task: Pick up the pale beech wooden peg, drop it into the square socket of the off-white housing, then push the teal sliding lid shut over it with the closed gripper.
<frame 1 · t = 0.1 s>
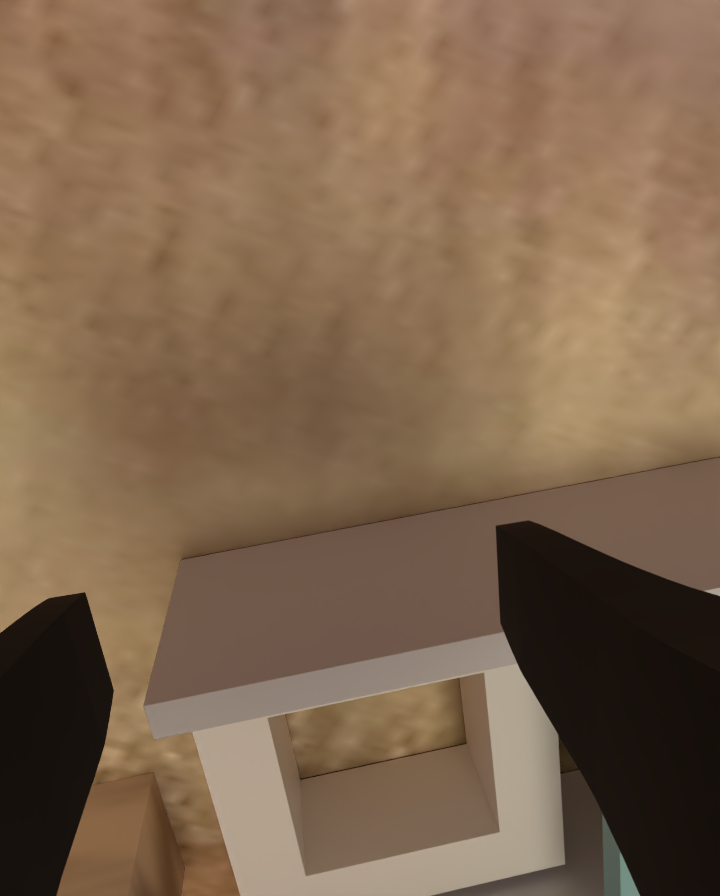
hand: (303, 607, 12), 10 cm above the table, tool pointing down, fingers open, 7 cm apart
peg: (103, 835, 25), on the table
housing: (372, 693, 25), on the table
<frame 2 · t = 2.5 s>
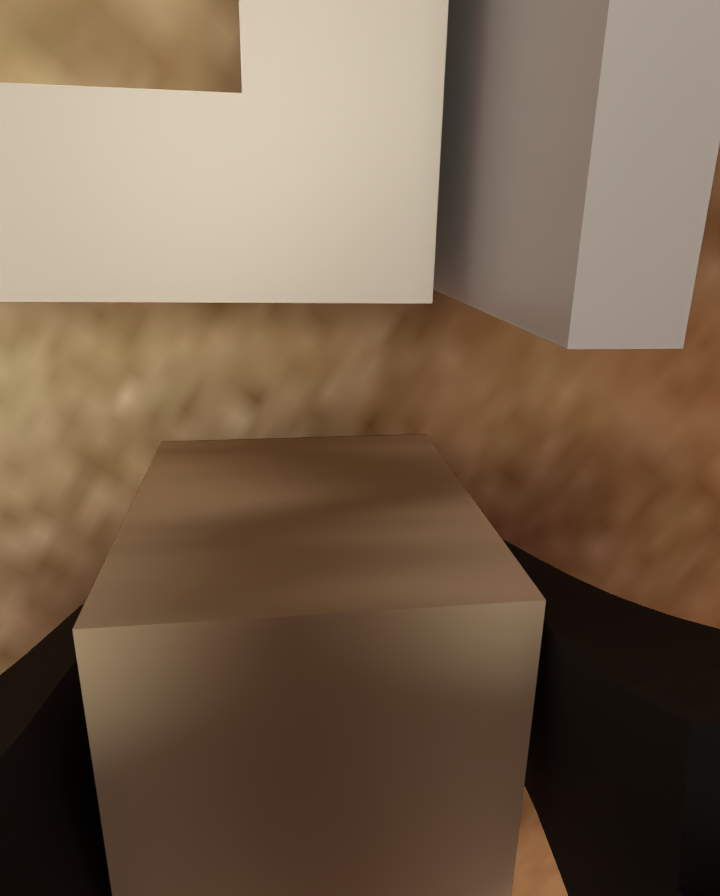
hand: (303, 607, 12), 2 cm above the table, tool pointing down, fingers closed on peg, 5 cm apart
peg: (299, 555, 13), on the table, touching gripper
when the fingers open (5 cm above the table, at t = 8.1 s): peg drops 3 cm, resting in housing.
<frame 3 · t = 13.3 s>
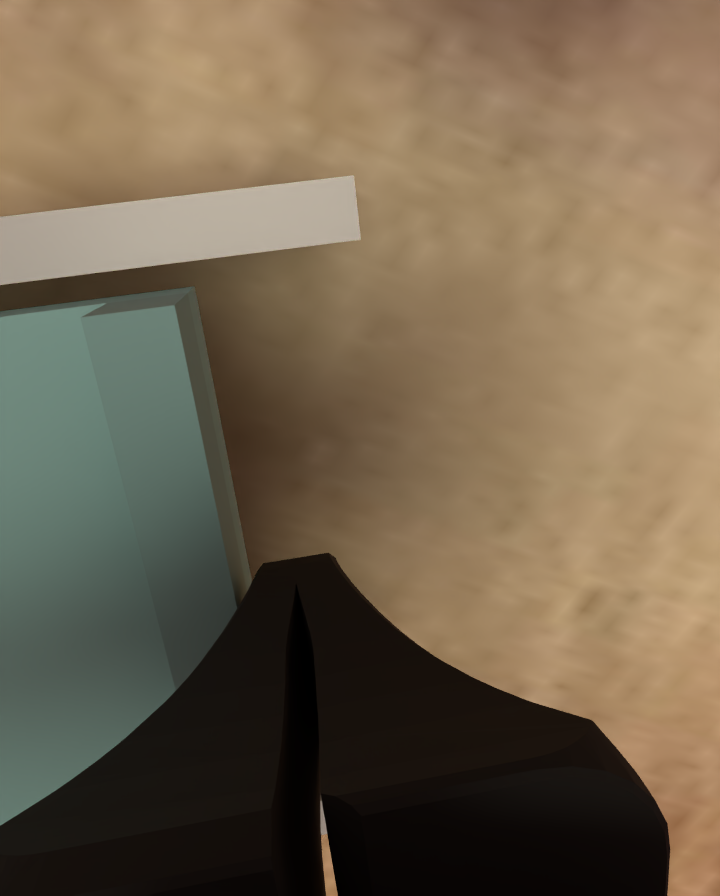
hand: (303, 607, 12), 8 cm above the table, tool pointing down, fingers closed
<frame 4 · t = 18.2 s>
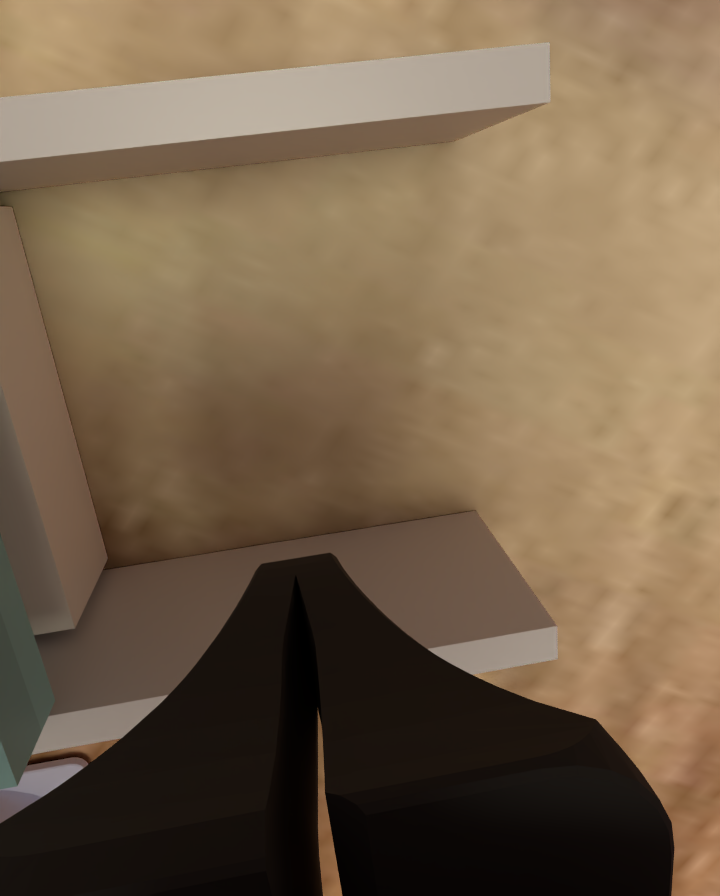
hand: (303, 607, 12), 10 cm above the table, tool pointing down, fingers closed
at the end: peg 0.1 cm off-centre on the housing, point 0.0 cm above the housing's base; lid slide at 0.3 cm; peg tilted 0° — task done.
